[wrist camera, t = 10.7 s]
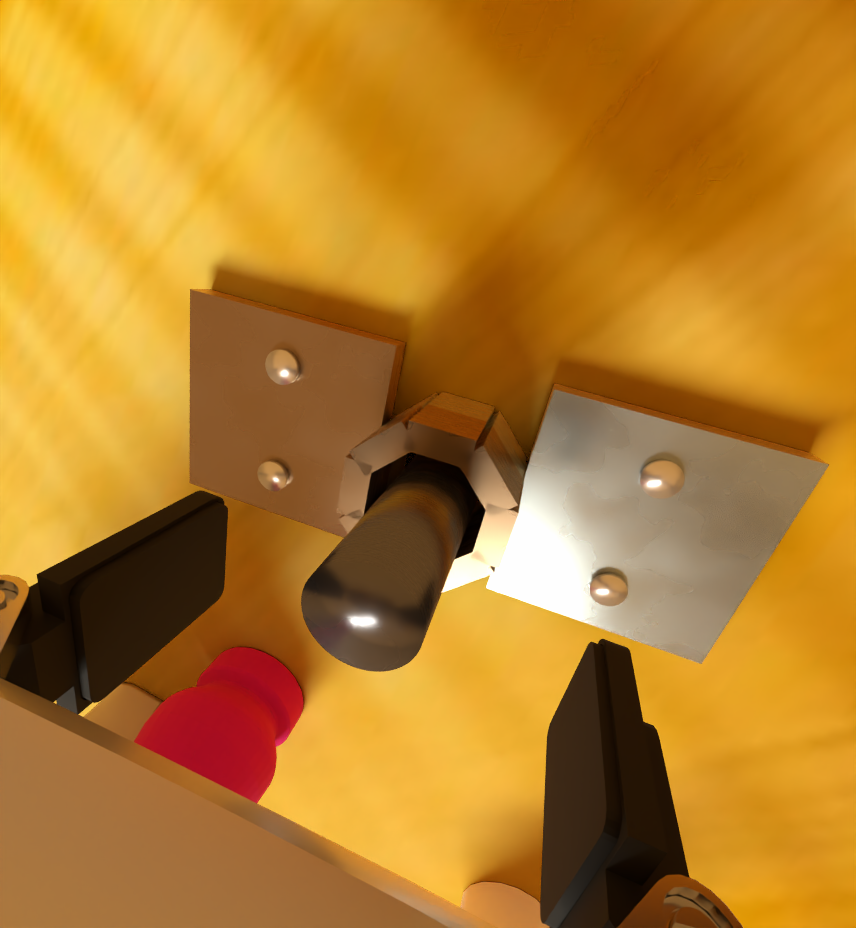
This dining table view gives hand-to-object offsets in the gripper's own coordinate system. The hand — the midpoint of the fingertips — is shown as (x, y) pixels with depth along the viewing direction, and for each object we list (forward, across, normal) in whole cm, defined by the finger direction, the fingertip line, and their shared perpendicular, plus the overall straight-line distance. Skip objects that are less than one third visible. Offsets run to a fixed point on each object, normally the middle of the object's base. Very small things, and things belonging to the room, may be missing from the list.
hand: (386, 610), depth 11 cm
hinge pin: (+9, +1, 0) cm, 9 cm away
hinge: (+9, +1, 0) cm, 9 cm away
